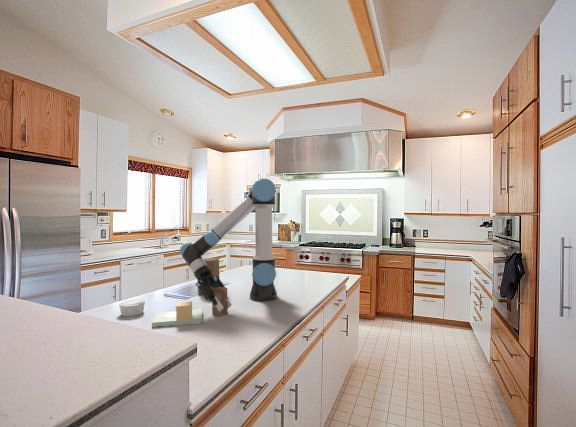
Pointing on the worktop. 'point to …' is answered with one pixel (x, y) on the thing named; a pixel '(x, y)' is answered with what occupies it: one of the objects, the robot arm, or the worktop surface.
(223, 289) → the pillar
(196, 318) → the board
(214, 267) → the block
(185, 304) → the cube
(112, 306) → the worktop surface
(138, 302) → the ramekin
